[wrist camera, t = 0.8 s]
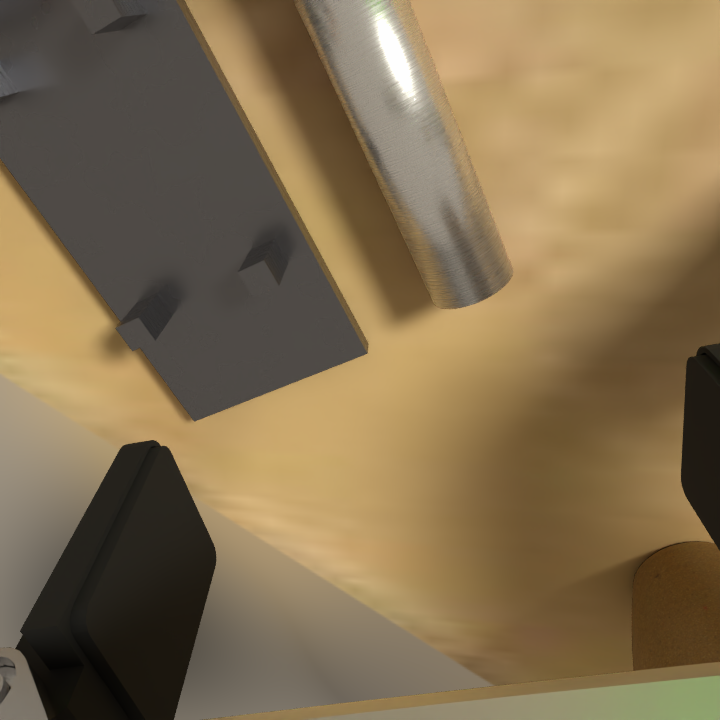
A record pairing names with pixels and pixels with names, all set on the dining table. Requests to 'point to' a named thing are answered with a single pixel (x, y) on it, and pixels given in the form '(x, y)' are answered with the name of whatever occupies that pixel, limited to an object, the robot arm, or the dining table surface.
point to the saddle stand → (166, 197)
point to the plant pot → (677, 607)
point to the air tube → (411, 143)
